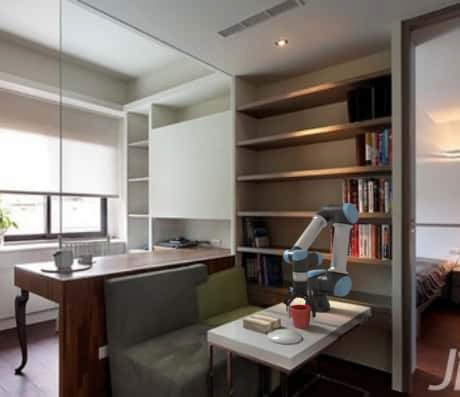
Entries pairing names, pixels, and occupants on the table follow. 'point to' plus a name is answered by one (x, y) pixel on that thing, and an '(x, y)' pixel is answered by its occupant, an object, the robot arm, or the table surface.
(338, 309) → the table surface
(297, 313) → the flower pot
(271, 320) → the stand
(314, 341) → the table surface
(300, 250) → the robot arm
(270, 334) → the pale grey round plate
